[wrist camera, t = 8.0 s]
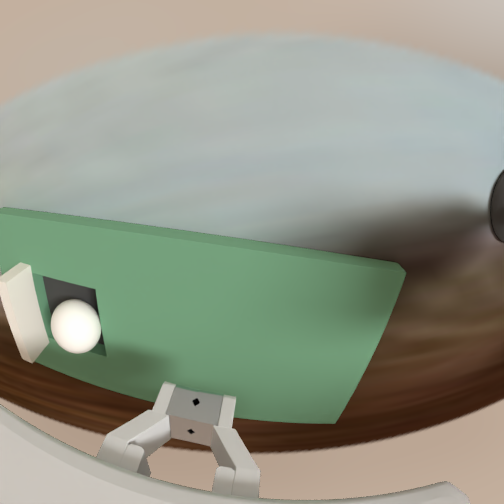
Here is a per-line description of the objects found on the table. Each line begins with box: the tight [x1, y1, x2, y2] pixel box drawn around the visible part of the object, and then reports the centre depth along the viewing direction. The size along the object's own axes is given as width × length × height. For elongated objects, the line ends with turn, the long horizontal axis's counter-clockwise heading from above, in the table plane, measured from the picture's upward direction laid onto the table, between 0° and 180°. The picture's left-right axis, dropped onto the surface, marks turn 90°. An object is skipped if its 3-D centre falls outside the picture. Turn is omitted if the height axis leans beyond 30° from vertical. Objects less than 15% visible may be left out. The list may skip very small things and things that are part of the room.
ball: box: [51, 299, 101, 354], centre depth 14 cm, size 3×3×3 cm
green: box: [0, 207, 406, 424], centre depth 14 cm, size 24×12×4 cm, turn 82°
